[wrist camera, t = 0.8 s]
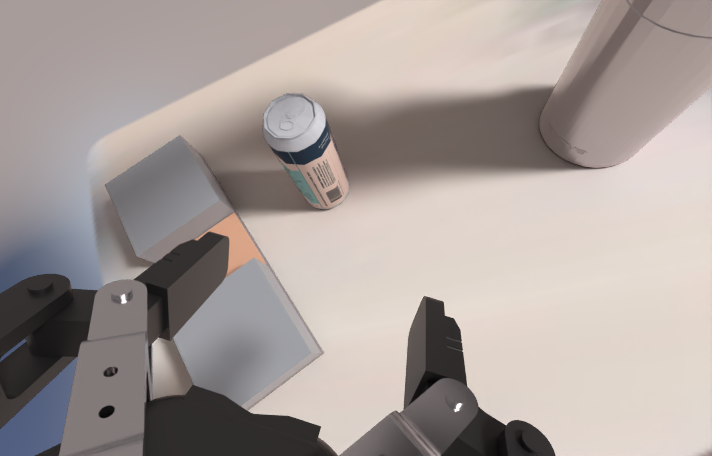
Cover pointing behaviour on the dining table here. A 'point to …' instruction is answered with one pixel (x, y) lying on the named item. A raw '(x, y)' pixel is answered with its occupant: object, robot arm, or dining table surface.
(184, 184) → the grey peach bar
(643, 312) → the dining table surface
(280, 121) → the beer can
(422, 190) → the dining table surface
